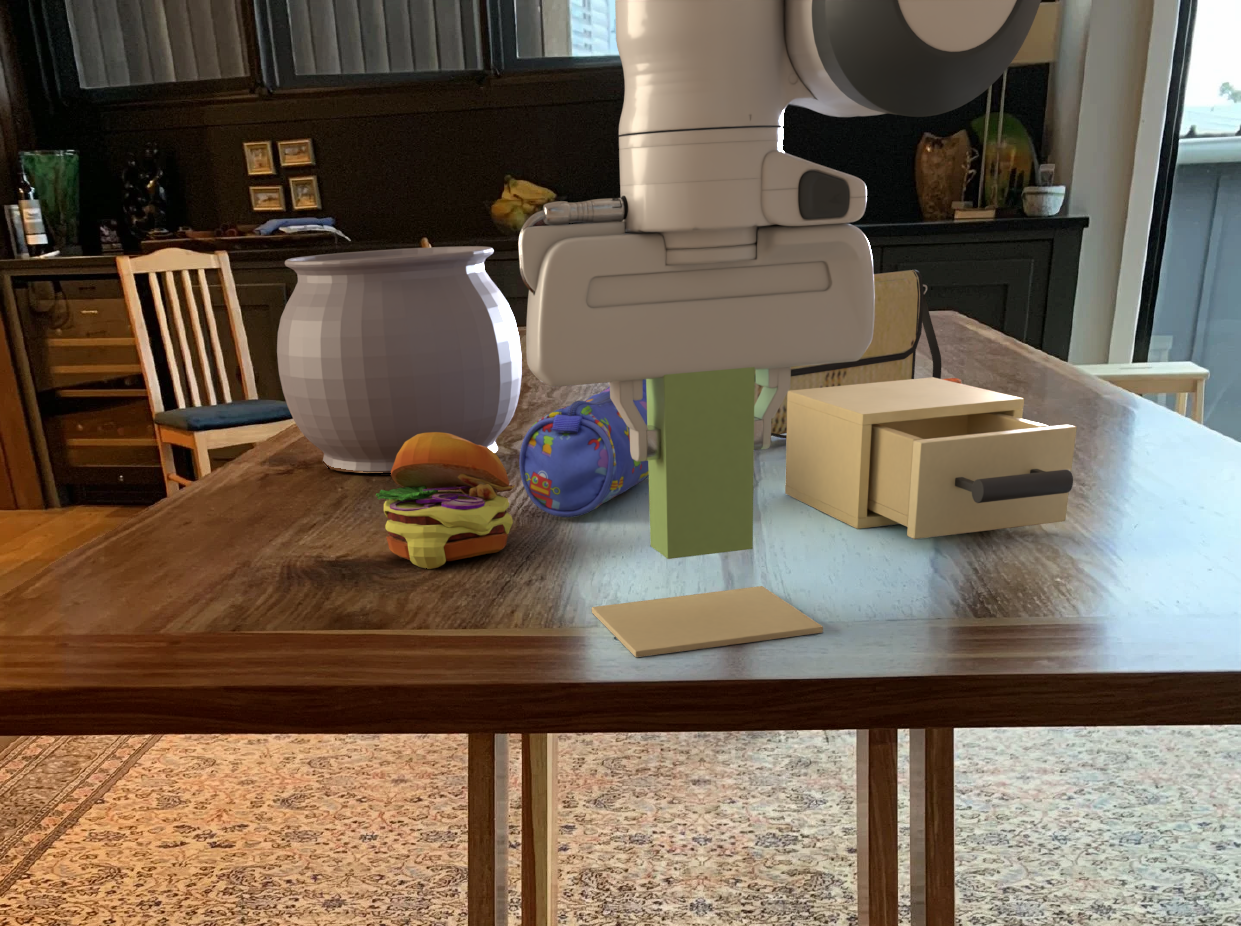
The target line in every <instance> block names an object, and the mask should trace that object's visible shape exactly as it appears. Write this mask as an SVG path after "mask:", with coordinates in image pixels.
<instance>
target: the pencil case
mask: <svg viewBox="0 0 1241 926" xmlns="http://www.w3.org/2000/svg"><path fill="white" fill-rule="evenodd" d="M607 384H608V387H607V388H605V389H604V390H602V391H600V392H599V393H596V394H593V395H591V396H590V397H588V398H587V399H585V400H575V401H574V402H572V403H571V404H570V405H567V406H564V407H561V408H558V409H555V410H554V411H552V412H550V413H548V414H546V415H544V416H543V417H540V418H539V419H537V420H536V421H535V422H534V423H533V424H532V425H531V426H530V427H529V429H528V430H527V432H526V434H525V435H524V438H523V440H522V443H521V446H520V450H519V451H520V452H519V459H518V460H519V473H520V478H521V482H522V486H523V487H524V490H525V492H526V494H527V496H528V497H529V499H530V500H531V502H532V503H533V504H534V505H535V506H536V507H537V508H539V509H540V510H541V511H543V512H545V513H547V514H549V515H551V516H554V517H557V518H558V517H559V518H575V517H580V516H583V515H585V514H588V513H590V512H592V511H594V510H596V509H598V508H599V507H600V506H601V505H603V504H605V503H607V502H609V501H610V500H613V499H614V498H616V497H617V496H619V495H621V494H623V493H625V492H627V491H628V490H630V489H631V488H633V487H635V486H637V485H638V484H640V483H641V482H643V481H644V480H645V479H647V478H649V469H648V461H638V462H637V461H635V460H634V459H632V457H631V452H630V428H629V427H627V425H626V423H625V422H624V420H623V418H622V417H621V415H620V413H619V412H618V410H617V408H616V407H615V405H614V403H613V402H612V400H611V398H610V382H608V383H607ZM633 402H634V404H635V406H636V407H637V409H638V411H639V413H640V415H641V416H642V418H643V420H644V422H645V424H646V425H647V391H646V379H643V398H642V399H641V400H636V401H635V400H633Z"/></svg>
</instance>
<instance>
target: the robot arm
mask: <svg viewBox="0 0 1241 926" xmlns="http://www.w3.org/2000/svg"><path fill="white" fill-rule="evenodd" d="M614 2H615V4H614V7H615V9H614V10H615V41H616V47H617V51H618V56H619V58H620V61H621V67H622V71H623V79H624V94H623V95H624V96H623V104H622V109H621V114H620V118H619V123H618V149H619V150H618V158H619V159H618V160H619V185H620V186H619V187H620V188H619V189H620V191H619V193H620V195H619V197H610V198H597V199H590V200H584V201H578V202H568V201H562V200H560V201H552V202H548V203H545V204H543V206H542V210H540V211H537V212H535V213H534V214H532V215H531V216H529V217H528V218H527V219H526V221H525V222H524V224H523V225H522V227H521V229H520V232H519V236H518V243H517V244H518V245H517V246H518V261H519V262H518V263H519V272H520V276H521V279H522V281H523V283H524V285H525V287H526V289H528V296H527V309H526V327H525V328H526V331H525V348H526V349H525V351H526V353H525V354H526V364H527V367H528V369H529V370H530V372H531V374H533V375H534V376H535V378H536V379H537V380H539V382H541V383H542V384H544V385H546V386H550V387H553V388H560V387H570V386H581V385H594V384H595V385H596V384H604V383H605V384H608V383H610V398H611V400H612V402H613V403H614V405H615V407H616V408H617V410H618V412H619V413H620V415H621V417H622V418H623V420H624V422H625V423H626V425H627V427H629V428H630V452H631V457H632V459H634V460H635V461H637V462H638V461H648V460H657V459H660V458H661V447H660V443H661V429H659V428H657V427H655V426H653V425H646V424H645V422H644V420H643V418H642V416H641V415H640V413H639V411H638V409H637V407H636V406H635V404H634V402H633V400H635V401H636V400H641V399H642V398H643V379H654V378H663V377H664V375H666V374H678V373H690V372H702V371H714V370H726V369H738V368H750V367H755V370H756V384H758V385H761V386H764V387H763V389H762V391H761V393H760V395H759V397H758V400H757V402H756V404H755V406H754V451H760V450H768V449H770V448H771V444H772V443H771V442H772V436H771V419H772V418H774V416H775V414H776V412H777V411H778V409H779V407H780V405H781V403H782V402H783V400H784V398H785V396H786V394H787V392H788V391H789V389H790V380H791V367H794V366H805V365H817V364H829V363H840V362H852V361H857V360H859V359H860V358H861V357H862V355H863V354H864V353H865V351H866V350H867V348H868V346H869V345H870V343H871V341H872V338H873V330H874V274H875V273H874V259H873V253H872V249H871V245H870V242H869V240H868V238H867V236H866V234H865V233H864V232H863V231H862V229H860V228H859V227H857V226H856V225H853V224H851V223H855V222H857V221H859V220H860V219H861V218H863V216H864V215H865V212H866V208H867V201H868V197H867V196H868V189H867V185H866V183H865V181H863V180H862V179H861V178H859V177H858V176H855V175H852V174H849V173H846V172H843V171H840V170H836V169H834V168H831V167H827V166H825V165H821V164H819V163H816V162H813V161H810V160H807V159H804V158H802V157H798V156H797V155H792V154H790V153H787V152H785V151H784V150H783V140H784V128H783V127H784V113H785V110H786V108H787V107H788V106H792V107H798V108H804V109H809V110H811V111H813V112H816V113H819V114H822V115H825V116H829V117H837V118H853V117H871V116H880V115H886V114H890V115H897V116H904V117H912V118H914V117H915V118H923V117H932V116H938V115H941V114H945V113H948V112H951V111H954V110H956V109H958V108H960V107H962V106H965V105H966V104H968V103H970V102H971V101H973V100H974V99H976V98H977V97H979V96H980V95H982V94H983V93H984V92H985V91H986V90H988V89H989V88H990V87H991V86H992V85H993V84H994V83H995V82H996V81H997V80H998V79H1000V77H1001V76H1002V75H1003V74H1004V73H1005V71H1006V70H1007V69H1008V68H1009V66H1010V65H1011V64H1012V62H1013V61H1014V60H1015V58H1016V57H1017V55H1018V53H1019V51H1020V50H1021V49H1022V47H1023V45H1024V43H1025V41H1026V39H1027V37H1028V35H1029V33H1030V30H1031V28H1032V26H1033V24H1034V21H1035V19H1036V16H1037V13H1038V11H1039V8H1040V5H1041V2H1042V0H614ZM541 220H543V223H544V224H545V225H537V226H536V225H535V224H536V223H538V222H540V221H541ZM569 223H570V224H569ZM572 223H573V224H572ZM534 225H535V226H534Z"/></svg>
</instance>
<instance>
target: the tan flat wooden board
mask: <svg viewBox="0 0 1241 926" xmlns="http://www.w3.org/2000/svg"><path fill="white" fill-rule="evenodd" d="M591 613H592V614H593V615H594V616H595V618H597V619H598V620H599V621H600V623H602V625H603V626H605V628H606V629H608V631H609V632H610V633H612V635H613V636H614V637H615V638H616V639H617V640H618V641H619V642H620V643H621V644H622V645H623V646H624V647H625V648H626V649H627V651H629V652H630V653H631V654H632V655H633V656H634V657H635V658H643V657H650V656H658V655H666V654H673V653H680V652H687V651H695V650H703V649H711V648H718V647H725V646H734V645H740V644H747V643H755V642H762V641H771V640H777V639H785V638H793V637H801V636H809V635H815V634H822V633H824V626H823V625H822V624H820V623H819V622H817V621H815V620H814V619H812V618H811V617H809V616H808V615H806V614H805V613H804V612H802V611H801V610H799V609H798V608H797V607H795V606H794V605H792V604H790V603H789V602H787V601H785V600H784V599H782V597H780V596H778V595H777V594H775V593H774V592H772V591H770V589H767V587H765V586H763V585H758V586H751V587H743V588H742V587H741V588H734V589H733V588H732V589H727V590H717V591H709V592H702V593H693V594H685V595H678V596H670V597H661V598H653V599H645V600H637V601H630V602H629V601H628V602H622V603H613V604H605V605H598V606H592V607H591Z"/></svg>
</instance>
